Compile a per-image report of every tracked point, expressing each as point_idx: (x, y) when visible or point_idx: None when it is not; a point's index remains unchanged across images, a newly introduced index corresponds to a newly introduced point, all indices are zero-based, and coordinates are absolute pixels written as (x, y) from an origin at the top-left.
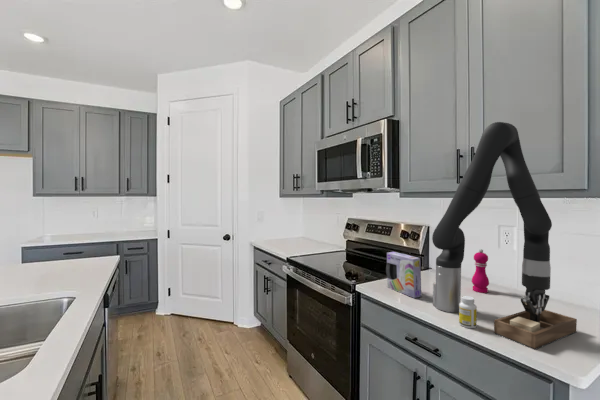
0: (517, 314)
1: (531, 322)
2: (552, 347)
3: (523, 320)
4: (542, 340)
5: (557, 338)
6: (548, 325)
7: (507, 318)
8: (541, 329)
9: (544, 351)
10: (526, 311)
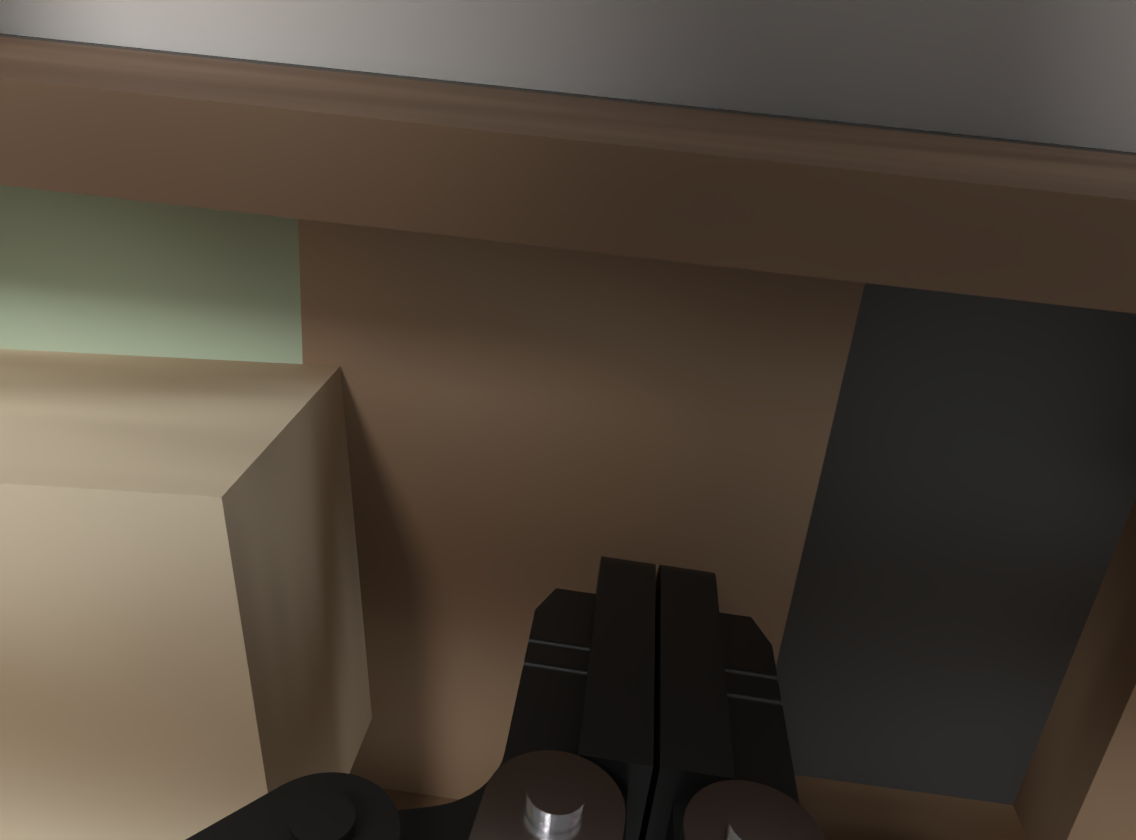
0: (730, 249)
1: (117, 815)
2: None
3: (44, 674)
4: None
5: None
6: (1126, 676)
7: (86, 191)
8: None
9: None
10: (286, 802)
